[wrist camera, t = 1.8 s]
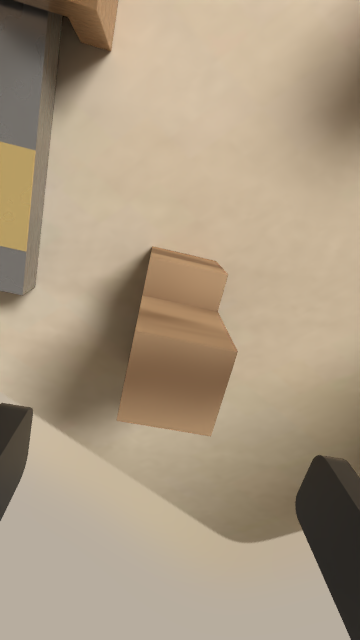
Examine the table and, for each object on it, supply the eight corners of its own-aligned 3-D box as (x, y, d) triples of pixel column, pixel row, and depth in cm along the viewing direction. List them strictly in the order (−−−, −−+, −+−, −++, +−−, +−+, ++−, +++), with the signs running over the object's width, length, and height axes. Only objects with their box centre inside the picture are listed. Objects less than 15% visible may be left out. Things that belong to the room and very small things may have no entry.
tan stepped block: (186, 374, 23) (201, 473, 15) (128, 363, 23) (108, 459, 14) (217, 261, 21) (255, 303, 12) (152, 246, 20) (145, 279, 12)
